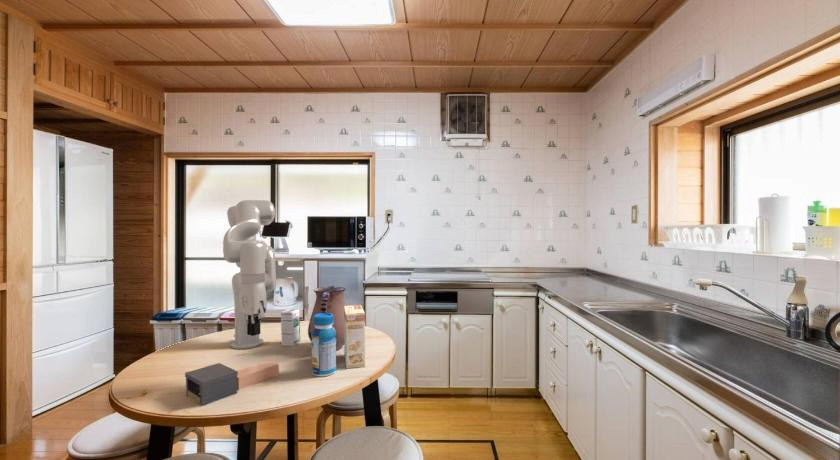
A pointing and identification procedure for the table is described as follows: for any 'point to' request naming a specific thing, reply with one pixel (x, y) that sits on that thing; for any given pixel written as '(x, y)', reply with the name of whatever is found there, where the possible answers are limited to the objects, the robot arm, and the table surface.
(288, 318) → the syrup box
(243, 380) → the terracotta slab
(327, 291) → the ceramic pitcher
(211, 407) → the table surface
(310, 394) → the table surface
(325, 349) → the beverage bottle
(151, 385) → the table surface
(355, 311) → the coffeecake box
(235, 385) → the grey open-ended tunnel
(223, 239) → the robot arm
